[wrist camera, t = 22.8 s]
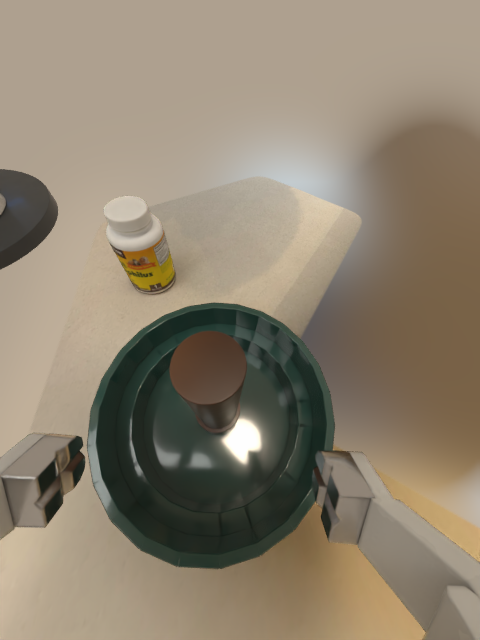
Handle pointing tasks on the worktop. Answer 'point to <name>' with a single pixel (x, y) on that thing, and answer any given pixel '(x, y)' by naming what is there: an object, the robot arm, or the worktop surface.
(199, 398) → the brown flanged cylinder
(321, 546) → the worktop surface
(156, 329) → the bowl
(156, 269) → the supplement bottle
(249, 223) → the worktop surface
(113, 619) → the worktop surface
